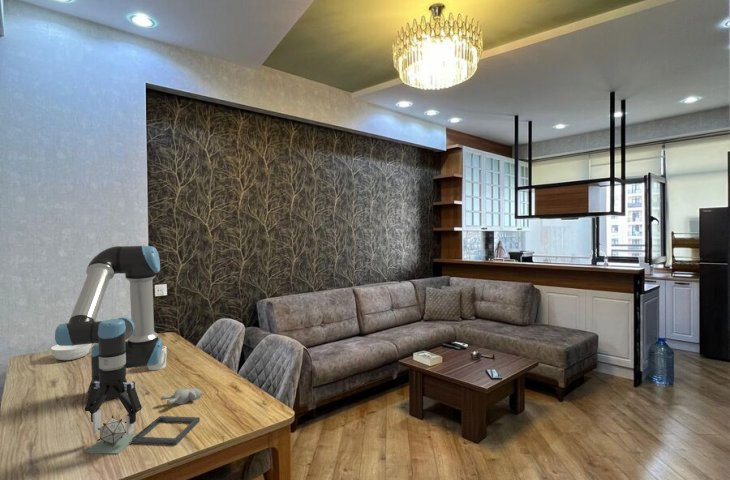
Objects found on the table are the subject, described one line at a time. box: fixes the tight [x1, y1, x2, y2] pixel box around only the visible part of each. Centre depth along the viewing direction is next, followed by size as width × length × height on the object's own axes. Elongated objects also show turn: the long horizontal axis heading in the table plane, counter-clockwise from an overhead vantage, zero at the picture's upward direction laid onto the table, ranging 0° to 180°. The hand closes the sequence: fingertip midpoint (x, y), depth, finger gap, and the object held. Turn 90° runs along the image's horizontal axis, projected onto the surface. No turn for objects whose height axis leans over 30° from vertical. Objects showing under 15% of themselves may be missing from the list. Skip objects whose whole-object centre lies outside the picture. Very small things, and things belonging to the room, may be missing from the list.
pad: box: [84, 433, 138, 455], centre depth 126 cm, size 11×11×1 cm
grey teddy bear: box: [160, 387, 204, 405], centre depth 157 cm, size 10×5×15 cm
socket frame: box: [131, 415, 201, 446], centre depth 134 cm, size 15×15×2 cm
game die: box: [97, 415, 126, 447], centre depth 126 cm, size 9×8×10 cm
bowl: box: [50, 343, 93, 361], centre depth 211 cm, size 18×18×7 cm
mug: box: [147, 345, 168, 372], centre depth 195 cm, size 11×9×10 cm
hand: (113, 432), depth 126 cm, fingers open, 11 cm apart
